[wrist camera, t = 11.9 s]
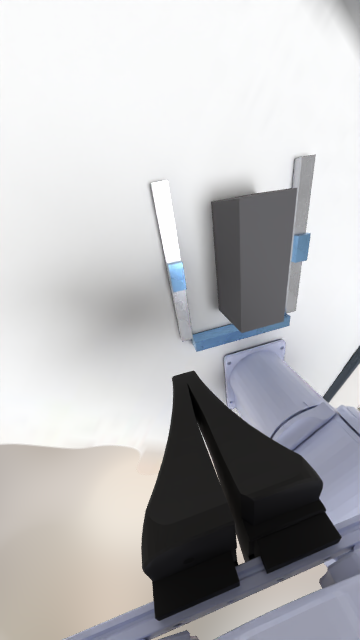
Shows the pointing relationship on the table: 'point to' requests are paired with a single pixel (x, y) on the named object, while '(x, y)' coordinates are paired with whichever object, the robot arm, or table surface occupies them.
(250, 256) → the dark grey block
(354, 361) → the phone case
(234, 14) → the table surface
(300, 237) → the silver and blue frame
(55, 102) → the table surface
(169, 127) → the table surface
